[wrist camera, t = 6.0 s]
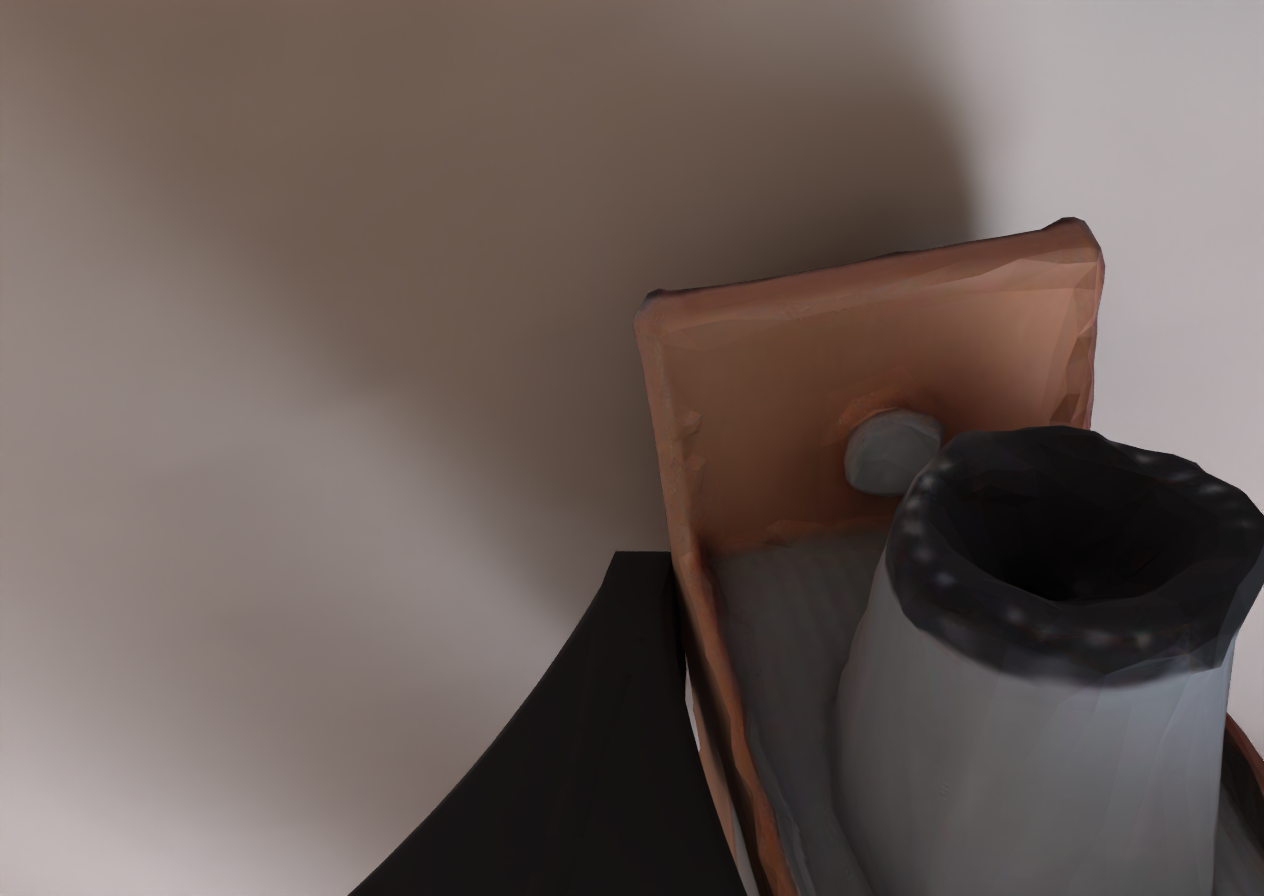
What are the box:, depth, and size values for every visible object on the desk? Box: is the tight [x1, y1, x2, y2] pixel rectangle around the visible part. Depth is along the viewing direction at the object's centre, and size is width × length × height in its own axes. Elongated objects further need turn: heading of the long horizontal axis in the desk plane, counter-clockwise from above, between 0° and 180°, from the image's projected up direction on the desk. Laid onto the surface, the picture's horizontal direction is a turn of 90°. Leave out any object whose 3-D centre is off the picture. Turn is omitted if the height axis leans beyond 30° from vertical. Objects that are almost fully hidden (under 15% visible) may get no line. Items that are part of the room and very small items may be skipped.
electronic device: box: [633, 217, 1264, 896], centre depth 9 cm, size 4×10×8 cm, turn 8°
